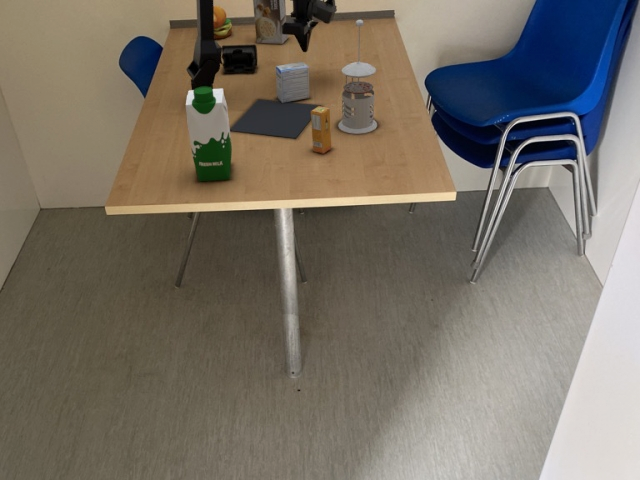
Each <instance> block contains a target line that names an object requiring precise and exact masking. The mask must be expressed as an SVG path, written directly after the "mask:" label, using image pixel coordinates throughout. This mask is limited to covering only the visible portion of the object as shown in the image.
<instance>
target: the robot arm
mask: <svg viewBox="0 0 640 480" xmlns="http://www.w3.org/2000/svg"><path fill="white" fill-rule="evenodd" d="M289 1H292V11H291V13H290V18H288V19H286V22H285V23H284V24H283V25H282V34H286V35H287V36H288V35H290V36H293V37H295V39H296V41H297V43H298V46H299V47H300V50H301V51H302V52H303V53H307V52H308V51H309V46H310V41H311V37H312V33H313V30H314V28H316V26H317V25H318V24H319V21H321V22H323V23H324V24H326V25H329V24H330V23H331V22H332V21H333V20H334V17H335V14H336V12H337V5H336V0H289ZM195 2H196V24H197V25H196V28H197V29H196V30H197V36H196V39H195V44H194V46H193V47H194V48H193V55H192V60H191V62H190V63H189V65H188V66H187V67H186V72H187V74H188V76H189V77H190V78H191V79H190V87H191V90H194V89H196V88H199V87H211V88H212V89H214V83H215V80H216V79H215V78H216V75H217V73H218V72H220V70H221V69H220V68H221V65H223V59H222V45H220V44H219V43H218V42H217V41H216V40H215V38H214V7H213V6H214V0H195ZM314 19H317V20H319V21H315V20H314Z"/></svg>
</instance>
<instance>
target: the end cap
mask: <svg viewBox="0 0 640 480" xmlns="http://www.w3.org/2000/svg"><path fill="white" fill-rule="evenodd" d="M221 48H222V54H221V60H222V63H223V64H222V67H223V70H224V71H223V73H224V75H238V74H240V75H241V74H242V75H243V74H255V73H256V69H257V66H258V48H257V45H256V44H226V45H223V44H222V45H221Z"/></svg>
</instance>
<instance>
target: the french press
mask: <svg viewBox="0 0 640 480" xmlns="http://www.w3.org/2000/svg"><path fill="white" fill-rule="evenodd" d="M364 23H365V21H364V20H362V19H357V20H356V21H355V23H354V25H355V27H358V58H357V59H358V60H357V61H355V62H351V63H349V64H347V65H345V66H344V67H342V69H341V73H342V74H343V75H344V76H345V84H344V85H343V91H342V94H341V99H342V101H341V104H342V106H341V110H342V111H341V114H342V115H341V120H340V121H339V123H338V125H337V126H338V129H339V130H341V131H342V132H344V133H348V134H354V135H358V134H366V133H367V134H368V133H370V132H373V131H374V130H376V129H377V127H378V123H377V121H375V119H374V115H375V114H374V113H375V112H374V111H375V91H374V90H373V89H374V85H373V84H372V83H370V82H368V81H362V80H360V79H364V78H369V77H372V76H373V75H375V73H376V72H377V69H376V67H375V66H373V65H371V64H370V63H367V62H363V61H360V52H361V51H360V49H361V48H360V47H361V27H364V26H365V24H364ZM348 77H349V78H351V81H350V82H348ZM354 79H357V80H356V81H355V80H354ZM352 94H353V95H352ZM365 94H370V95H365ZM352 96H353V97H354V98H352Z"/></svg>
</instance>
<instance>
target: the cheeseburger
mask: <svg viewBox="0 0 640 480" xmlns="http://www.w3.org/2000/svg"><path fill="white" fill-rule="evenodd" d="M213 7H214V39H224V38H227V37H229V36H230V35H231V34H232V28H233V24H232V20H231V19H230V18H227V13H226V10H225V9H223V7H221V6H220V5H219V6H218V5H213Z"/></svg>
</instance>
